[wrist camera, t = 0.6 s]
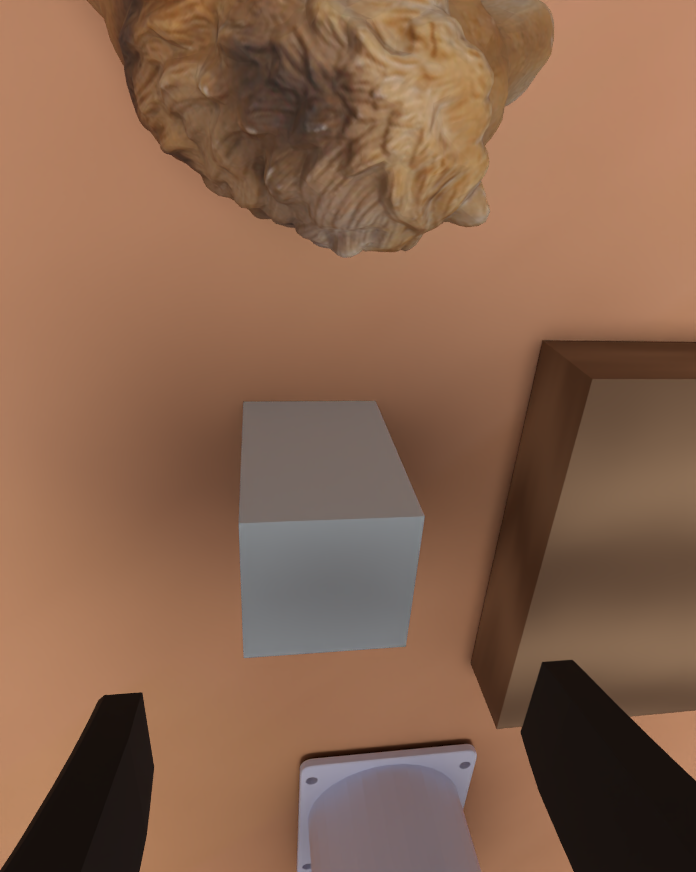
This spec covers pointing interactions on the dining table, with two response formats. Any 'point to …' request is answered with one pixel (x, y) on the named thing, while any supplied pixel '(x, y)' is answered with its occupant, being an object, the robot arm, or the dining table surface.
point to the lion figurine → (333, 104)
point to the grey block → (324, 530)
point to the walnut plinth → (599, 532)
